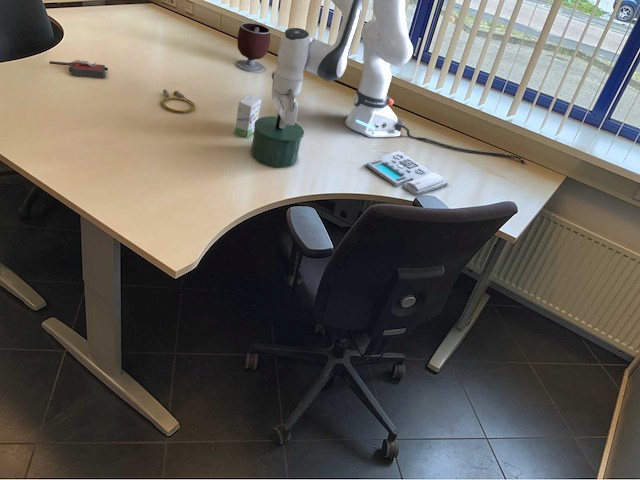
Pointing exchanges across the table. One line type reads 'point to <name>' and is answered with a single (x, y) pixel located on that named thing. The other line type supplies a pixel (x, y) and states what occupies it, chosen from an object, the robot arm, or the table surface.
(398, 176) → the office telephone
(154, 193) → the table surface
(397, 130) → the robot arm
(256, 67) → the mate gourd
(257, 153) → the tin
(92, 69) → the walkie-talkie
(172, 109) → the extension cord
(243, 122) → the ink box
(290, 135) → the tin lid
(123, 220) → the table surface
